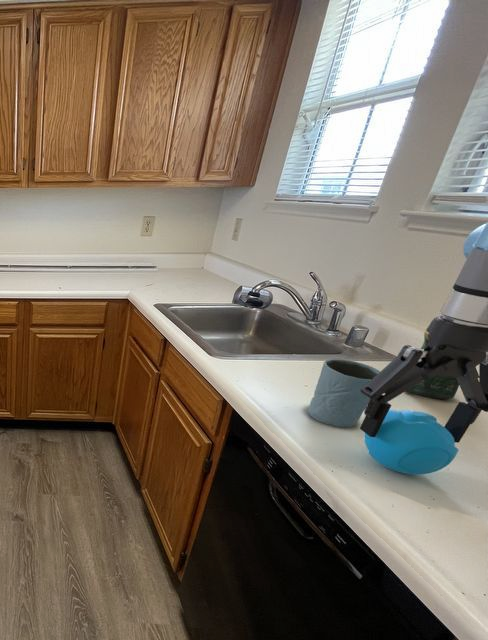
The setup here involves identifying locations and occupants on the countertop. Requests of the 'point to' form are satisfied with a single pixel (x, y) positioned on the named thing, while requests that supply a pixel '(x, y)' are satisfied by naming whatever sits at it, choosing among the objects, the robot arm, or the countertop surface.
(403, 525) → the countertop surface
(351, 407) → the grey embossed pot
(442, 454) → the blue rounded lump
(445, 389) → the coffee jar
